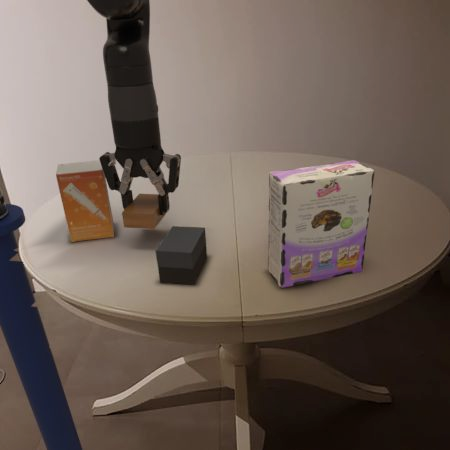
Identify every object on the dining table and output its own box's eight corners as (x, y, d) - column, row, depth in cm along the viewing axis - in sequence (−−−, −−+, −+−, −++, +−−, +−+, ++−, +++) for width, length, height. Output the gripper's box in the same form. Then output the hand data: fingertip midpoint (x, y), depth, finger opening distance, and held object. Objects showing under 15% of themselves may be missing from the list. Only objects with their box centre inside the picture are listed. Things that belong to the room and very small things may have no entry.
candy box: (345, 257, 78) (356, 158, 69) (363, 273, 73) (377, 169, 64) (266, 271, 75) (267, 169, 66) (280, 289, 70) (283, 182, 61)
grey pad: (192, 269, 71) (191, 252, 69) (157, 266, 72) (155, 250, 70) (206, 242, 78) (205, 227, 77) (174, 241, 79) (172, 225, 78)
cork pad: (154, 229, 80) (153, 214, 79) (124, 227, 81) (121, 212, 80) (169, 208, 88) (168, 194, 86) (141, 207, 89) (139, 193, 87)
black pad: (194, 284, 72) (192, 269, 71) (159, 282, 73) (157, 266, 72) (207, 257, 80) (206, 242, 78) (175, 255, 81) (174, 241, 79)
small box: (71, 243, 87) (54, 174, 80) (72, 229, 92) (56, 163, 85) (115, 237, 88) (102, 169, 81) (114, 224, 93) (102, 158, 86)
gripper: (82, 118, 73) (101, 219, 82) (171, 119, 70) (180, 223, 80) (101, 108, 79) (117, 203, 88) (183, 109, 76) (191, 206, 86)
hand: (147, 212), depth 84 cm, fingers closed on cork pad, 5 cm apart
